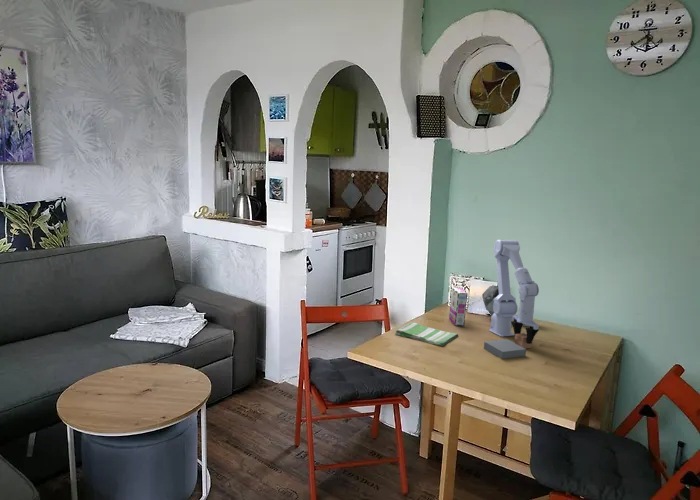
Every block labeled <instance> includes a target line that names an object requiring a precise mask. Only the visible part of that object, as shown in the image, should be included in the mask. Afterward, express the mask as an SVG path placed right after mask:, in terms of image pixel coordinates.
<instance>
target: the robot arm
mask: <svg viewBox="0 0 700 500" xmlns="http://www.w3.org/2000/svg"><path fill="white" fill-rule="evenodd" d="M493 251H494V253H493V254H494V258H495V259H496V260H495V261H496V272H497V275H496V276H497V286H498V289H499V295H498V296H497V297H496V298H495V299H494V305H493V311H494V314H493V315H492V317H491V316H490V318H491V320H490V326H489V327H490V328H488V331H489V332H491V333H494V334H495V335H497V336H498V337H501V338H502V337H511V336H515V334H520V333H522V329H523V327H524V326H523V324H525V325H527V326H526V327H525V331H526V332H525V333H526V334H527V344H531V345H532V343H533V341H534V338H535V337H536V335H537V334H538V332H539V331H540V329H539V327H540V326H539V325H540V324H538V323H536V322H535V321H534V313H533V311H535V301H536V297H537V296H538V295H539V293H540V289H539V285H538V283H536V282H535V281H534V280H533V279H532V276H531V275H530V271H529V269H528V268H525V267H524V264H523V261H522V257H521V255H520V251H521V246H520V243H519V241H518V240H517V239H497V240H496V241H495V243H494V245H493ZM509 260H510V262H511V263H512V265H513V268H514V269H515V272H514V275H515V278H516V281H517V283H518V285H519V288H518V294H519V307H520V310H519V309H518V304H517V301H516V297H514V296H513V295H512V294H511V282H510V269H509ZM502 300H506V301H502ZM520 300H521V301H520ZM517 312H518V315H516V314H517ZM532 320H533V321H532ZM512 329H513V332H512Z"/></svg>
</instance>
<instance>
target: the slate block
mask: <svg viewBox="0 0 700 500" xmlns="http://www.w3.org/2000/svg"><path fill="white" fill-rule="evenodd" d="M483 349H484V350H486V351H488V352H489V353H491V354H492V355H494V356H495V357H498V358H500V359H501V360H502V359H503V360H504V359H510V358H511V359H512V358H519V357H526V354H527V353H526V352H527V348H523V347H521V346H519V345H517V344H515V343H514V341H512V340H509V339H508V338H506V339H500V340H499V339H498V340H488V341H487V340H486V341H484V343H483Z"/></svg>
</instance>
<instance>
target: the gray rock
mask: <svg viewBox="0 0 700 500" xmlns="http://www.w3.org/2000/svg"><path fill="white" fill-rule="evenodd" d="M498 295H499V289H498V285H494V284H492V285H491V286H489V287H487V289H485V291H483V292H482V295H481V297H482V299H483V300H482V301H483V304H484V308H485V310H486V311H488V312H489V313H490V314H491V315H490V318H489V321H491V317H492V315H493V314H494V311H493V305H494V299H495V298H496V297H497V296H498ZM502 301H507V300H502ZM488 312H487V313H488Z"/></svg>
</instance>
